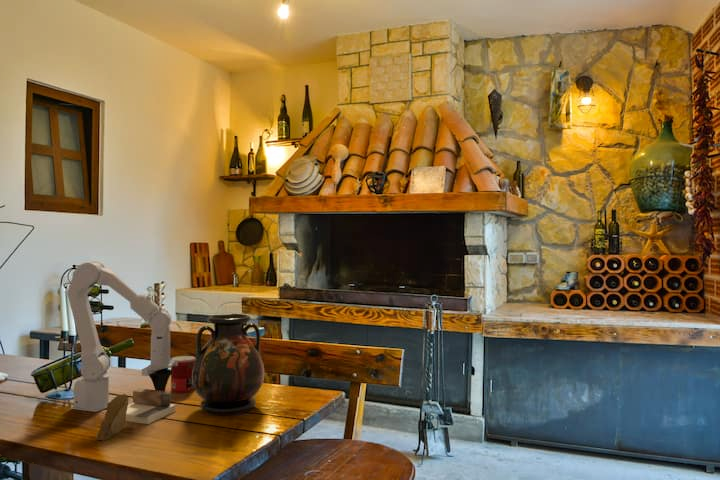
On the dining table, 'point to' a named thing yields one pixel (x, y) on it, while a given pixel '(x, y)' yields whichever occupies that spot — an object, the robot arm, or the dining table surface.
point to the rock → (114, 417)
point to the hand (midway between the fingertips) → (160, 393)
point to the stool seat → (147, 412)
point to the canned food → (182, 374)
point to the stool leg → (152, 397)
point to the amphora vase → (228, 366)
